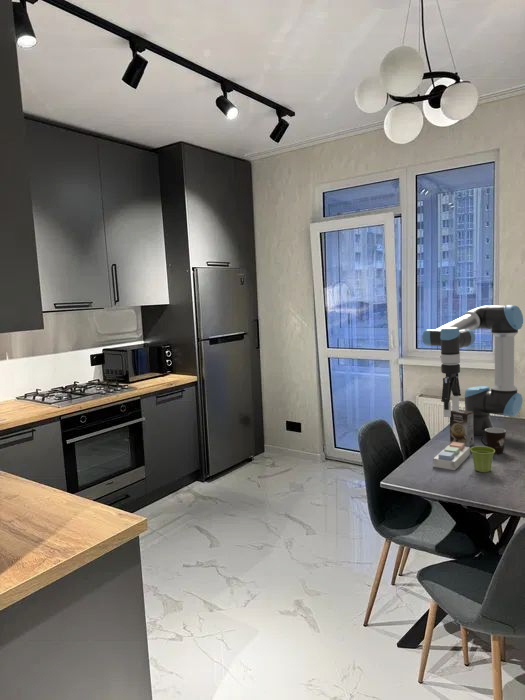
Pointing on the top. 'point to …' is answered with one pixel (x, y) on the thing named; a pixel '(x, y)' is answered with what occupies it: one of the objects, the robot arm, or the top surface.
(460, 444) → the terracotta button
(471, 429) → the coffee box
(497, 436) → the coffee mug
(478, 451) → the plant pot
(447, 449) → the sage button
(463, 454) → the button panel
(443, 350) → the robot arm
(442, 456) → the slate button
